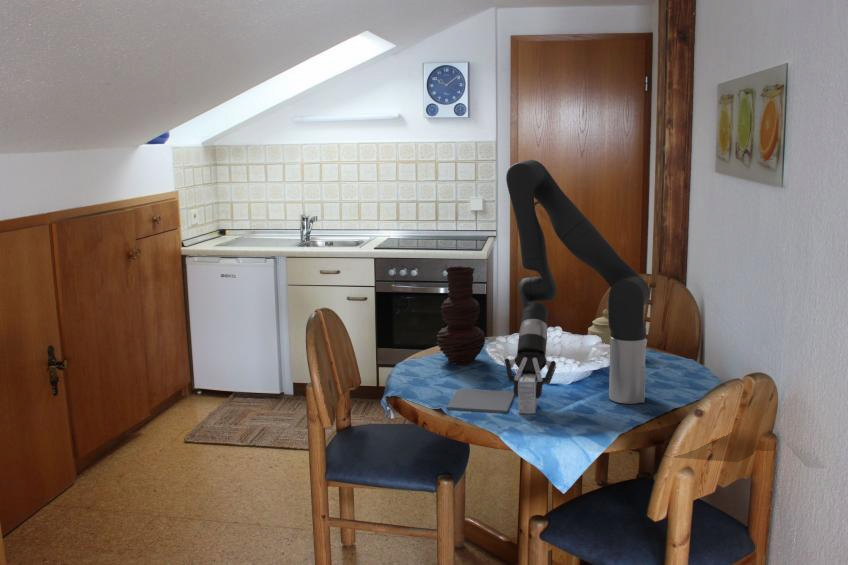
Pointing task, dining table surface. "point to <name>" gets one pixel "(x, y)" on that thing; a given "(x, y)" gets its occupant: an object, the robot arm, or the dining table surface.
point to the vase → (460, 319)
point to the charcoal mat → (481, 400)
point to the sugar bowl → (601, 328)
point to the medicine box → (527, 393)
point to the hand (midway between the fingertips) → (527, 396)
